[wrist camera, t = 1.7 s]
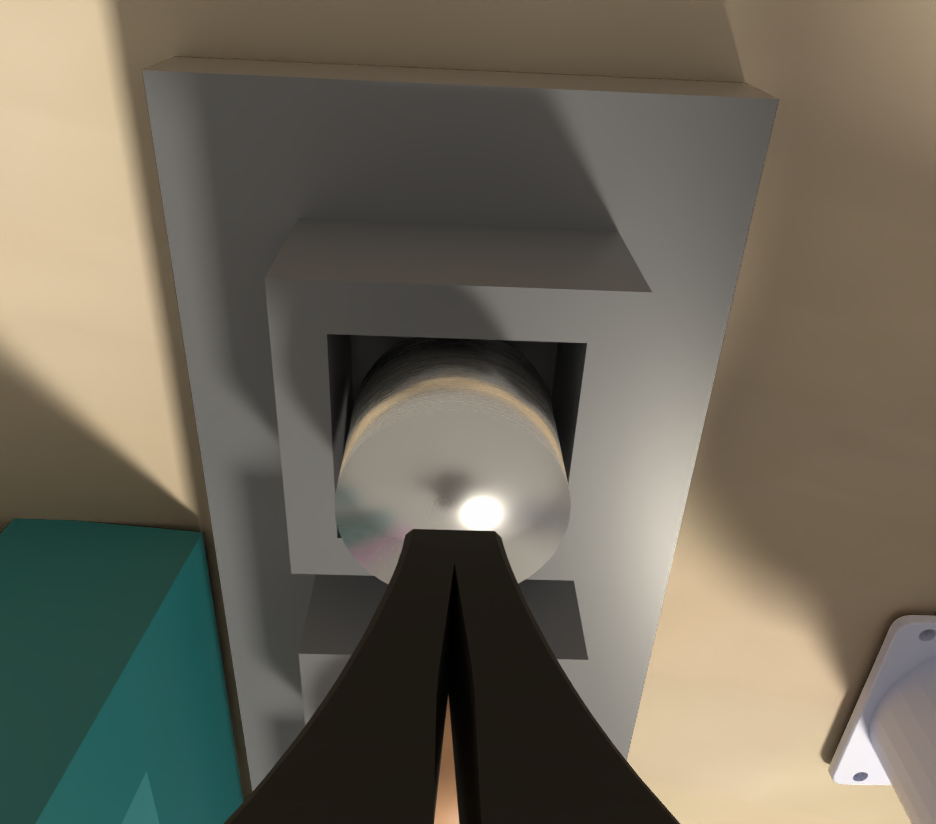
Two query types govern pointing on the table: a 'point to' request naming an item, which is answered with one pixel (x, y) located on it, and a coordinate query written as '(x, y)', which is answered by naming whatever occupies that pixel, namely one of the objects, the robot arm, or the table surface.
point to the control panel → (446, 325)
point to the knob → (452, 454)
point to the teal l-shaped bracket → (111, 678)
